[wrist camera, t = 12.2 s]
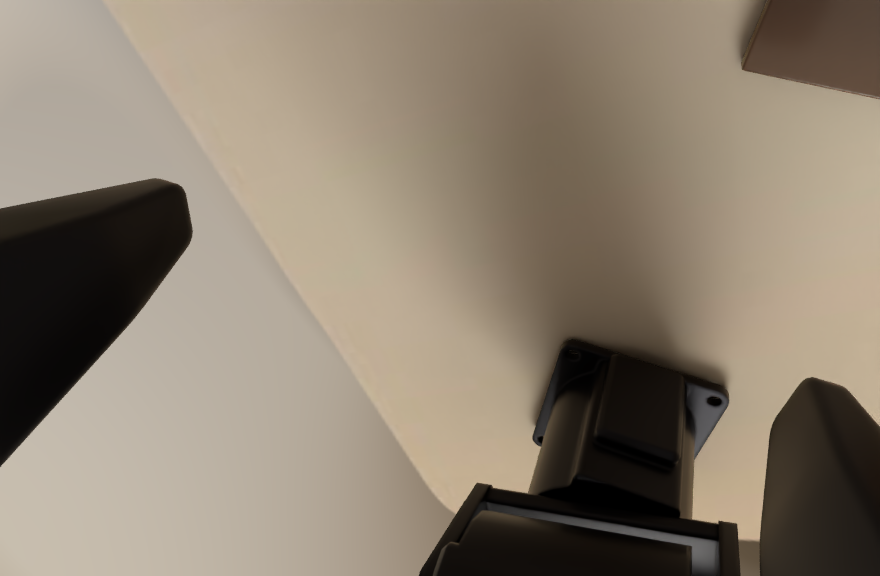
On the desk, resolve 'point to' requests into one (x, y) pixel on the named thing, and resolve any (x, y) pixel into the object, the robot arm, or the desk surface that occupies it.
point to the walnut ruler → (819, 44)
